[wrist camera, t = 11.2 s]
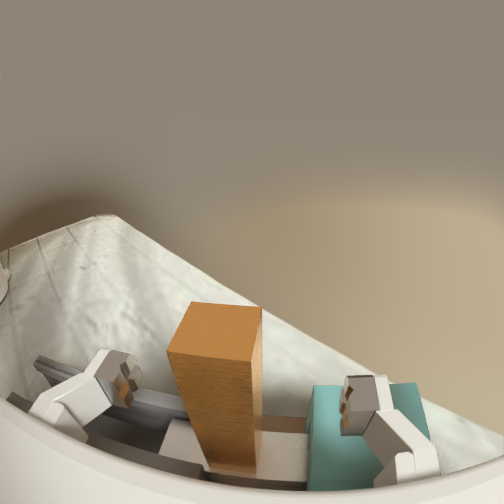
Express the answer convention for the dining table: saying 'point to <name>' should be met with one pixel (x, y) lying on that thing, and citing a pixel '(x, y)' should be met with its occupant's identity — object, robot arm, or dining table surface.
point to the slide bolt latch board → (316, 424)
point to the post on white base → (229, 403)
